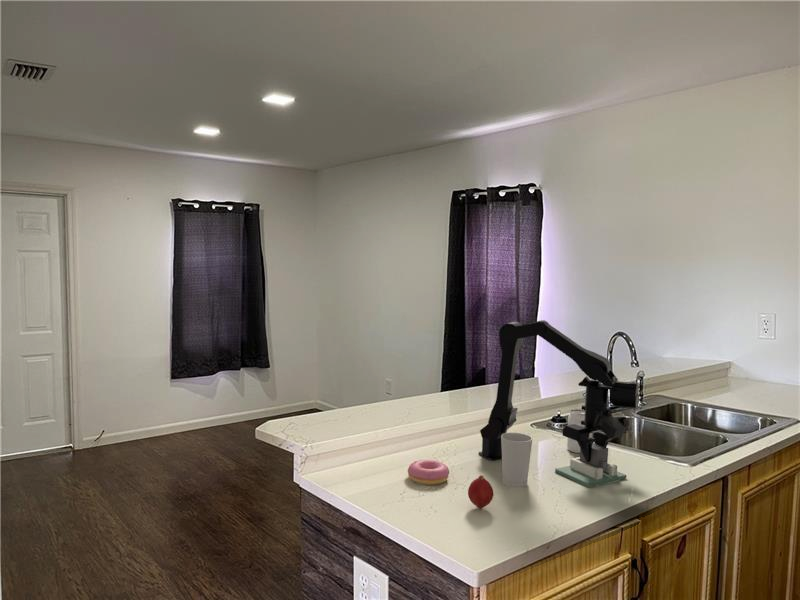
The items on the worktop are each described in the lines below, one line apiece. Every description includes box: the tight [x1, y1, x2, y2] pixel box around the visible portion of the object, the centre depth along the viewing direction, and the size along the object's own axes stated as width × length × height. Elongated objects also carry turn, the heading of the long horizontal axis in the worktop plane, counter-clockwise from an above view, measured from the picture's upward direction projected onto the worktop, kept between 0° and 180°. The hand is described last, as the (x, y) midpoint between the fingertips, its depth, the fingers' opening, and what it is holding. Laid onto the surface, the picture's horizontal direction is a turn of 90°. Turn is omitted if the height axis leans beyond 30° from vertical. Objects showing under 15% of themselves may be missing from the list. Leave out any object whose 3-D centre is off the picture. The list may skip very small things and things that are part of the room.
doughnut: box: [407, 459, 450, 486], centre depth 154 cm, size 11×11×4 cm
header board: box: [554, 456, 627, 488], centre depth 160 cm, size 14×12×4 cm
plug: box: [579, 442, 609, 469], centre depth 160 cm, size 4×7×5 cm, turn 29°
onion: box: [467, 474, 494, 510], centre depth 136 cm, size 6×6×8 cm
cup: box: [501, 432, 533, 488], centre depth 153 cm, size 8×8×12 cm
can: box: [566, 409, 585, 454], centre depth 181 cm, size 6×6×12 cm
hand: (593, 460), depth 160 cm, fingers closed on plug, 4 cm apart
